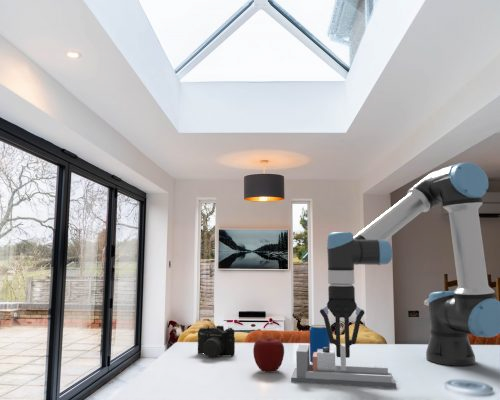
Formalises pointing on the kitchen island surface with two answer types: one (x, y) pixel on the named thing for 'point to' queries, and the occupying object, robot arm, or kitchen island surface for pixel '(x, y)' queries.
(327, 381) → the base
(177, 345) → the kitchen island surface
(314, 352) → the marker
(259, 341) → the apple
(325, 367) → the white cube with knob
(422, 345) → the kitchen island surface
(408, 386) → the kitchen island surface
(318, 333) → the beverage can
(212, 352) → the camera
